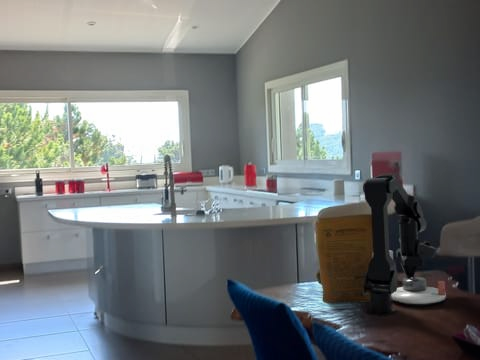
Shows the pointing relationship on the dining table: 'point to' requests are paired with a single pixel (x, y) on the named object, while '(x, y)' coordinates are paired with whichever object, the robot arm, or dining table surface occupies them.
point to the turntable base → (418, 304)
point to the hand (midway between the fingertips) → (410, 282)
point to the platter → (421, 295)
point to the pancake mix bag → (344, 256)
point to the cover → (414, 284)
